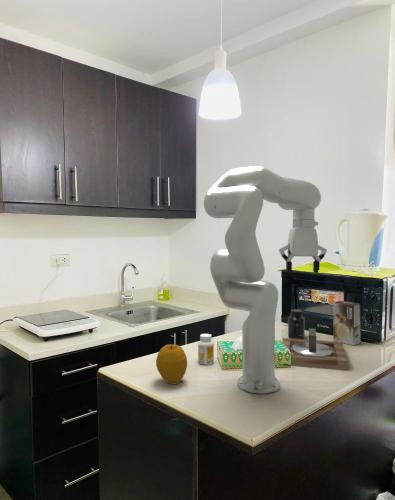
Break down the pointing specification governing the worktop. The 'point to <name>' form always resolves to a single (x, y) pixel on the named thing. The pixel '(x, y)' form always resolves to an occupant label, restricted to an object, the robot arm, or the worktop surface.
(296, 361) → the dial housing
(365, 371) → the worktop surface
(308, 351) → the dial
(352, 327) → the coffee box
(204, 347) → the supplement bottle
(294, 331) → the supplement bottle
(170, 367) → the apple
